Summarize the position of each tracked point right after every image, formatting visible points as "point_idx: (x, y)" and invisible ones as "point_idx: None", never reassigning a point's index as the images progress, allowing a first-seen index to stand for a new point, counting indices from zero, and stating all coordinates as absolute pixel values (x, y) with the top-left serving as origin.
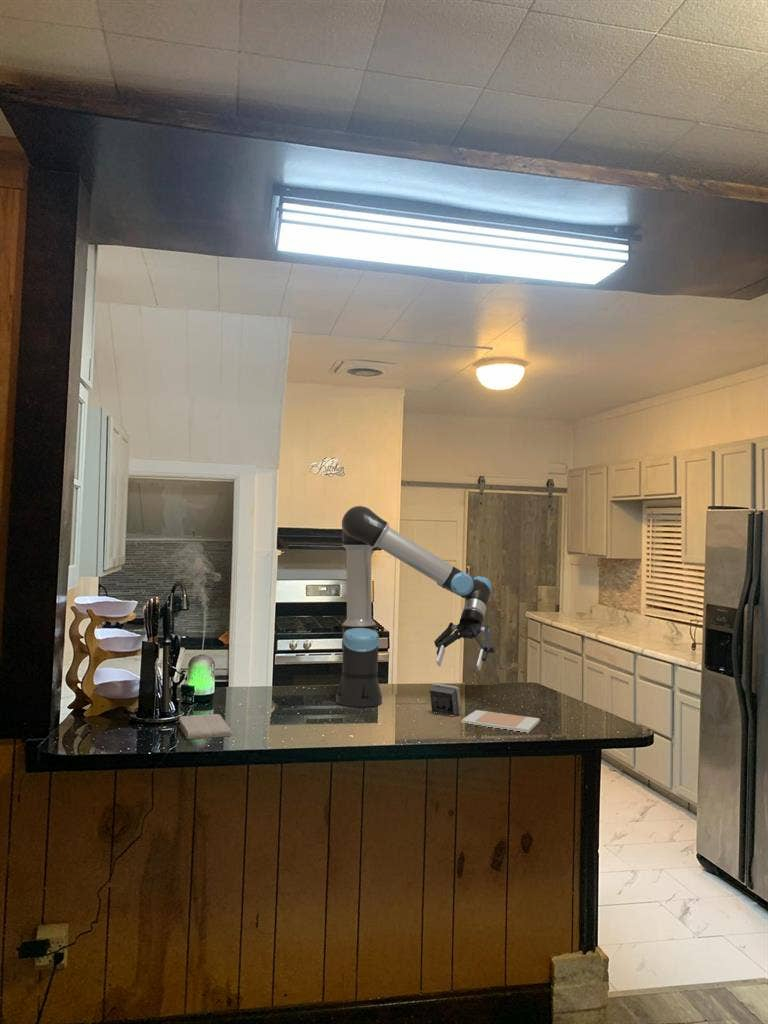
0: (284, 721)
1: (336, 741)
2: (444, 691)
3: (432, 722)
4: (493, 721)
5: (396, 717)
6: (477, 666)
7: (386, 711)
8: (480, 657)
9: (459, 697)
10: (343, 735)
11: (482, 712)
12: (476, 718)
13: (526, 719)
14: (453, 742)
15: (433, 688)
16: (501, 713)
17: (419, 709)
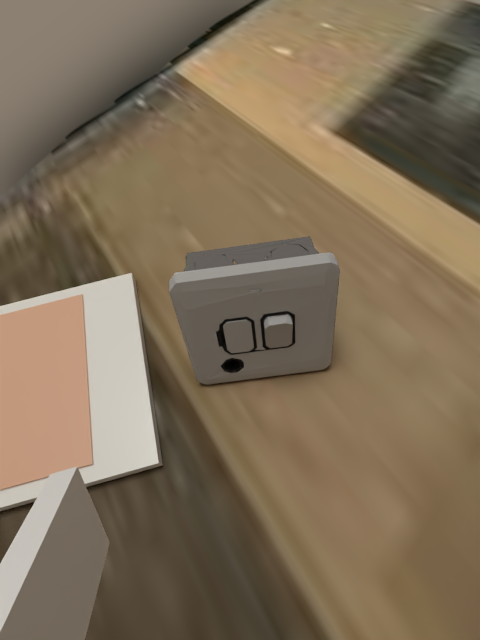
0: (477, 22)
1: (273, 22)
2: (231, 253)
3: (218, 229)
4: (17, 331)
5: (342, 196)
6: (78, 487)
7: (431, 223)
8: (1, 571)
9: (180, 325)
10: (296, 43)
11: (113, 440)
12: (94, 331)
13: None
14: (73, 143)
15: (305, 251)
16: (21, 482)
17: (384, 330)
